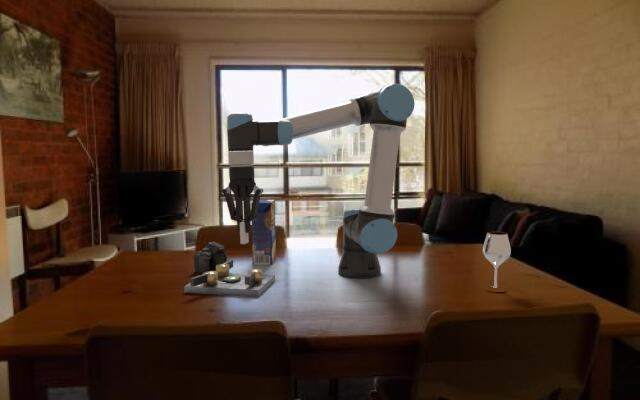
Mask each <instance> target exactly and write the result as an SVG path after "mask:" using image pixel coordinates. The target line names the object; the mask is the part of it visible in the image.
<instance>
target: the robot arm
mask: <svg viewBox="0 0 640 400" xmlns="http://www.w3.org/2000/svg"><path fill="white" fill-rule="evenodd" d="M414 98H415V97H414V95H413V93H412V92H411V91H410V89H409V88H407V87H406V86H405V85H404V84H400V83H390V84H386V85H384V86H382V87H379V88H375V89H373V90H370V91H368V92H366V93H365V94H361V95H358V96H356V97H351V98H350V99H349V101H347V102H345V103H340V104H336V105H332V106H328V107H324V108H320V109H316V110H311V111H307V112H303V113H299V114H294V115H291V116H287V117H283V118H280V119H269V120H268V119H267V120H255V119H254V118H253V115H252V114H251V113H244V112H238V113H230V114H228V116H227V117H226V133H227V137H226V138H227V151H228V152H227V153H228V156H227V157H228V158H227V159H228V165H229V168H228V176H229V177H228V178H229V183H228V186H227V187H225V188H223V189H221V192H222V195H223V196H224V197H225V202H226V205H227V209H228V213H229V216H230V217H229V218H230V220H231V221H234V222H236V226H237V228H236V230H237V232H238V233H239V237H240V238H239V239H240V242H239V243H240V245H246V244H248V243H250V241H249V233H251V232H252V220H254V219H256V217H257V212H258V207H259V201H260V200H261V196H262V195H263V193H264V189H263V188H261V187H258V185H257V183H256V182H255V167H254V164H255V160H254V159H255V157H254V156H255V155H254V146H263V147H269V146H287V145H289V146H290V144H292V142H293V140H296V139H299V138H304V137H307V136H312V135H315V134H319V133H322V132H327V131H331V130H336V129H338V128H344V127H348V126H353V125H355V126H356V127H360V126H363V125H369V127H370V129H372V131H373V133H372V143H371V150H370V158H369V166H368V174H367V182H366V189H365V197H364V204H363V205H362V206H360V207H359V208H358V209H346V210H344V211H343V217H342V221H343V222H342V223H343V224H342V225H343V226H342V230H343V231H342V235H343V236H342V238H343V239H342V241H343V244H342V248H343V250H342V254H341V258H340V260H339V264H338V268H337V269H338V271H337V272H338V274H339V275H341V276H343V277H347V278H352V279H369V278H375V277H378V276H379V275H381V273H382V271H381V267H382V266H381V263H380V260H379V258H378V255H380V254H384V253H387V252H389V251H390V250H391V249H392V248H394V245H395V244H396V242H397V239H398V230H397V227H396V225H395V223H394V222H395V221H394V220H395V212H394V210H393V209H392V207H391V205H392V199H393V191H394V183H395V178H396V177H395V176H396V169H397V162H398V154H399V153H398V152H399V147H400V137H401V134H402V133H403V132H404V131H406V130H407V122H408V119H409V118H410V116H412V114H413V112H414V109H415V99H414ZM232 193H233V194H234V197H233V195H232ZM252 193H253V197H252V196H251V195H252ZM251 199H252V202H251ZM234 200H235V201H234ZM251 203H252V207H251Z"/></svg>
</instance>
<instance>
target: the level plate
mask: <svg viewBox="0 0 640 400" xmlns="http://www.w3.org/2000/svg"><path fill="white" fill-rule="evenodd" d="M246 275H248V273H240V272H239V273H238V272H237V273H235V272H229V275H228V276H224V277H219V276H218V283H217V284H213V285H205V284H204V283H203V284H200V285H197V286H194V287H193V286H190V282H189V283H187V284H186V285H185V286H183V289H184V294H186V293H187V294H202V295H203V294H204V295H205V294H206V295H219V296H220V295H222V296H223V295H224V296H241V297H242V296H243V297H258V298H259V297H260V296H261V295H262V294H263V293H264V292H265V291H266V290H268V288H270V286H271V285H272V284H274V282H276V275H275V274H263V273H262V281H261V282H252V283H251V284H250V285H245V276H246Z"/></svg>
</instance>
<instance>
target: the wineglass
mask: <svg viewBox="0 0 640 400" xmlns="http://www.w3.org/2000/svg"><path fill="white" fill-rule="evenodd" d="M511 251H512V248H511V244H510V240H509V236H508V232H503V231H489V232H487V233H486V236H485V239H484V243H483V246H482V254H483V256H484V257H485V259H486V260H487V261H488V262H489V263H490V264H491V265H493V267H494V275H493V276H494V279H493V281H494V282H493V286H492V287H493V288H497V287H498V268H499V267H500V266H501V265H502V264H503V263H505V262H506V261H508V259H509V258H510V257H511V253H512V252H511Z"/></svg>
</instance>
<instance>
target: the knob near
mask: <svg viewBox="0 0 640 400" xmlns="http://www.w3.org/2000/svg"><path fill="white" fill-rule="evenodd" d="M189 283H190V286H193V287H194V286H197V285H200V284H203V283H204V284H205V285H213V284H217V283H218V272H216V270H211V271H208V272H204V273H201V274H200V275H196V276H193V277H190V278H189Z"/></svg>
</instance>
